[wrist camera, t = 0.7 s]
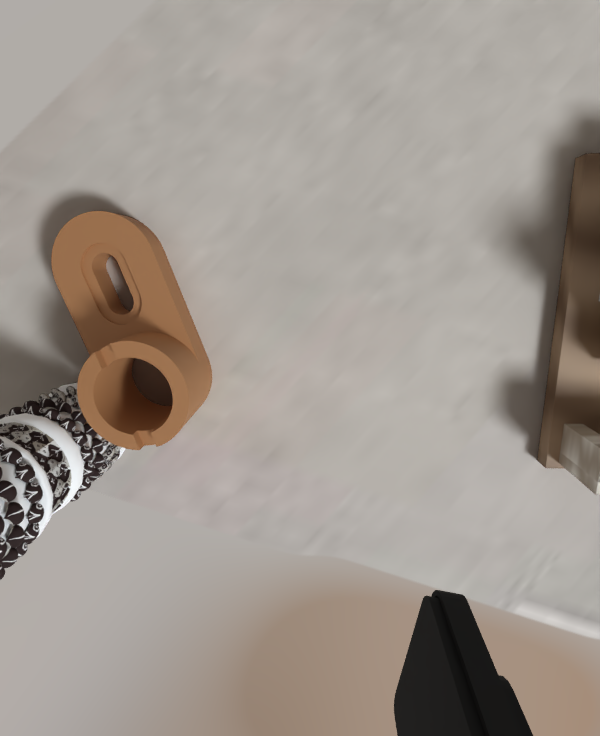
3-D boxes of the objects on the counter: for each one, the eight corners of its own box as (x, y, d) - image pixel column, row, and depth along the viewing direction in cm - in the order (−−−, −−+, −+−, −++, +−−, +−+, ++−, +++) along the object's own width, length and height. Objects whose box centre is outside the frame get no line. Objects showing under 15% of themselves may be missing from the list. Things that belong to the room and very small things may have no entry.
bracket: (226, 401, 39) (206, 430, 32) (142, 429, 40) (106, 462, 33) (144, 199, 35) (101, 185, 29) (54, 235, 36) (-7, 230, 30)
